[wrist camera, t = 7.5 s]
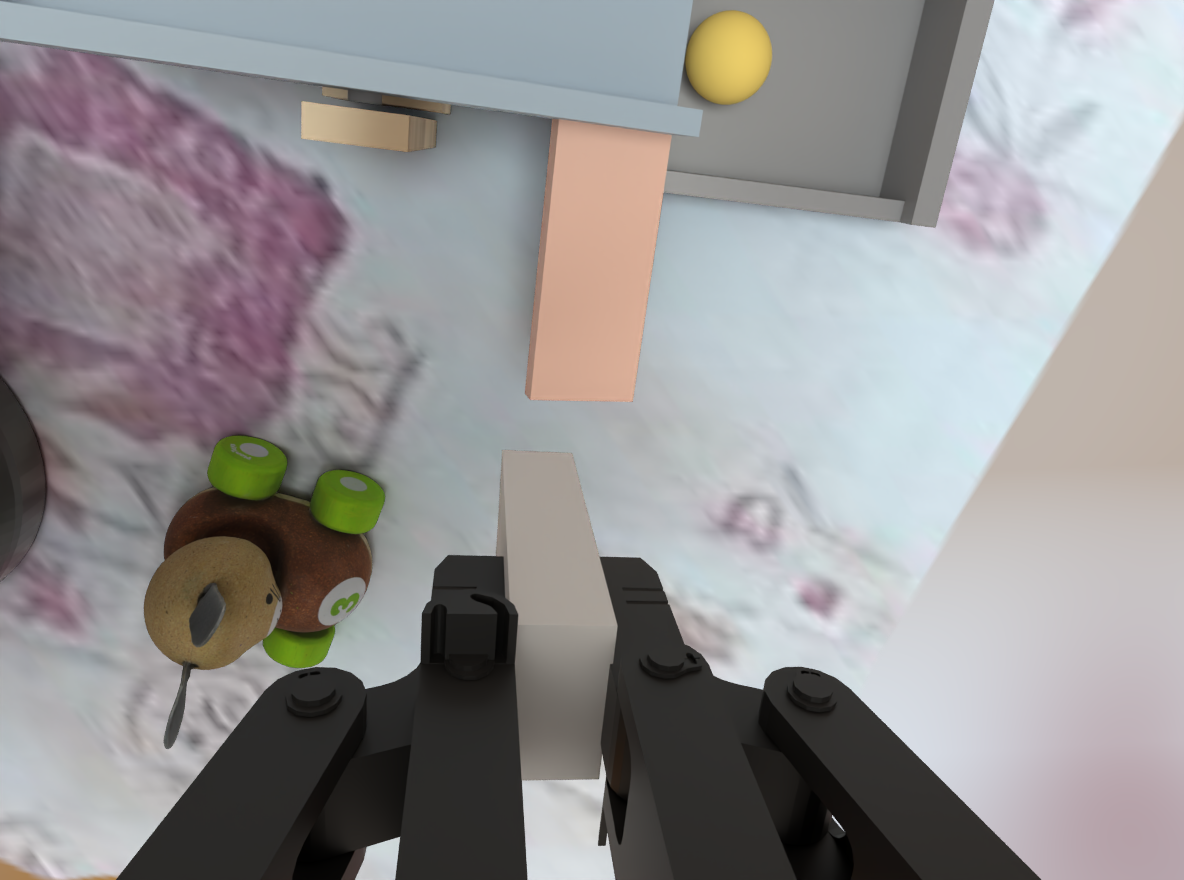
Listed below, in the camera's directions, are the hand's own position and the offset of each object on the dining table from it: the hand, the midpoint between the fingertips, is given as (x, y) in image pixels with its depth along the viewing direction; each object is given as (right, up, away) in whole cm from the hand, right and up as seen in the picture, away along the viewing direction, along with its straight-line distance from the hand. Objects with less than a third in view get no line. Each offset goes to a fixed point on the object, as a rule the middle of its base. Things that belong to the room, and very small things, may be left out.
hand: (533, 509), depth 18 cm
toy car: (-13, -3, +21) cm, 25 cm away
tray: (+8, +16, +15) cm, 24 cm away
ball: (+6, +16, +13) cm, 21 cm away
